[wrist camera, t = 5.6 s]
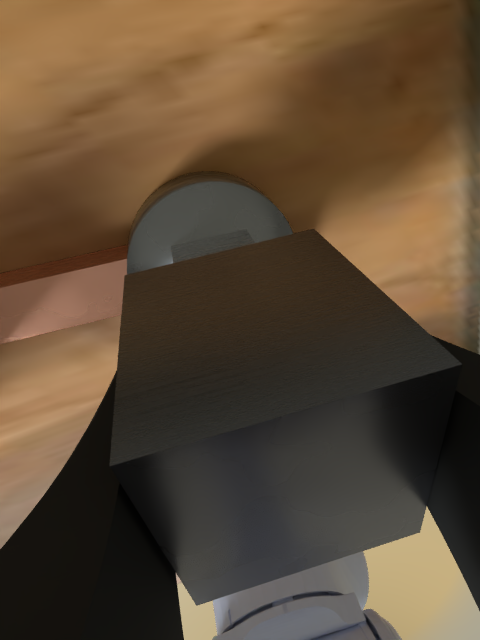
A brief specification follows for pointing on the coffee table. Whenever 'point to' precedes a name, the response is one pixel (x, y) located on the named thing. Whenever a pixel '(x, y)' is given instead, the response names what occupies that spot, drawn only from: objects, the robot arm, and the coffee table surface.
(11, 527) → the coffee table surface
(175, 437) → the socket
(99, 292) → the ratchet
